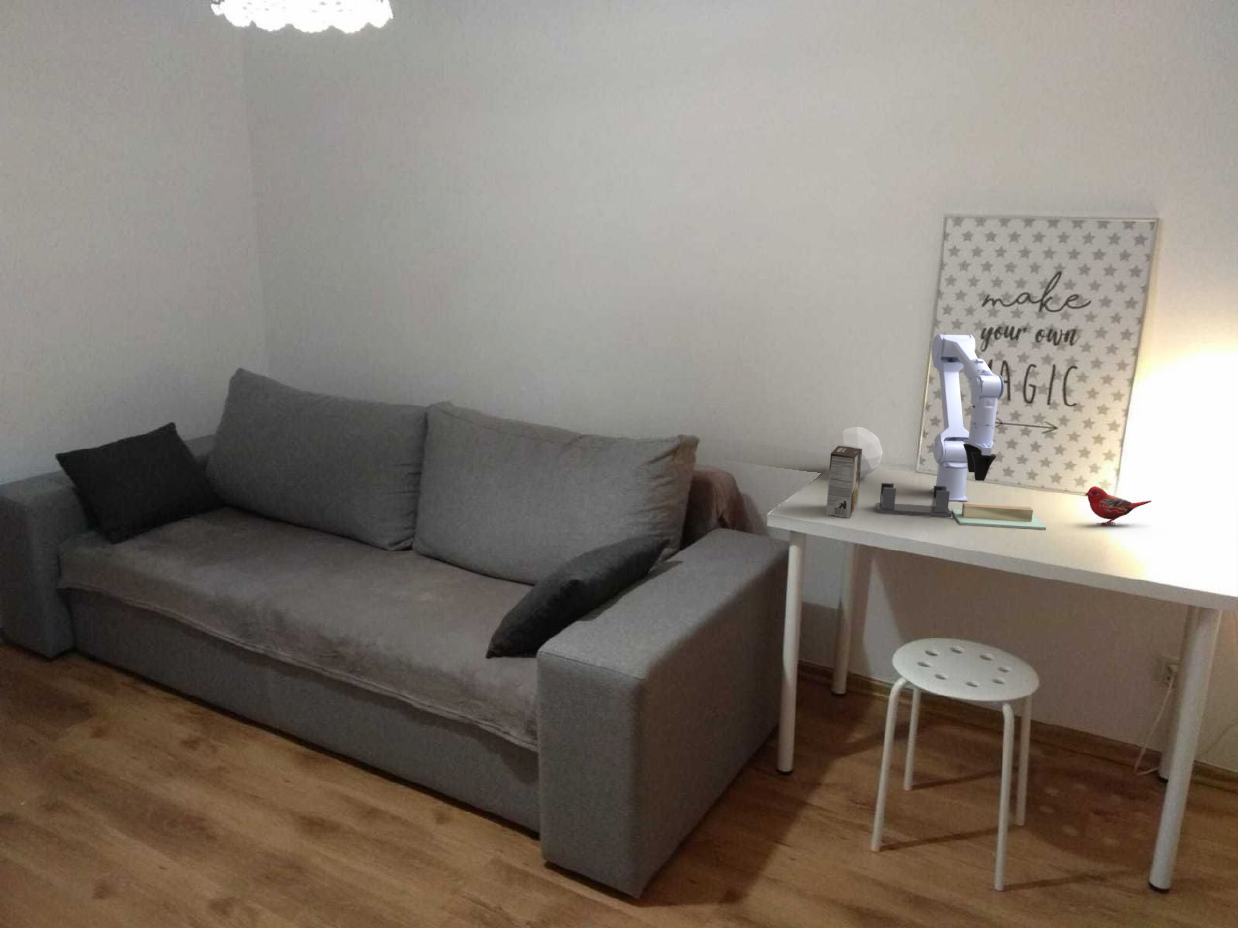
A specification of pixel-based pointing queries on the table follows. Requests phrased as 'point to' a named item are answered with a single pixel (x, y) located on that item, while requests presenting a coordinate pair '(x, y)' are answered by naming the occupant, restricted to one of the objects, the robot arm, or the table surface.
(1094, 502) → the decorative bird figurine
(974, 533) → the table surface
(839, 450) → the coffee box
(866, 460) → the white faceted ovoid
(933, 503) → the grey u-shaped holder
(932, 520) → the table surface
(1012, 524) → the green mat
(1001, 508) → the beech rail
